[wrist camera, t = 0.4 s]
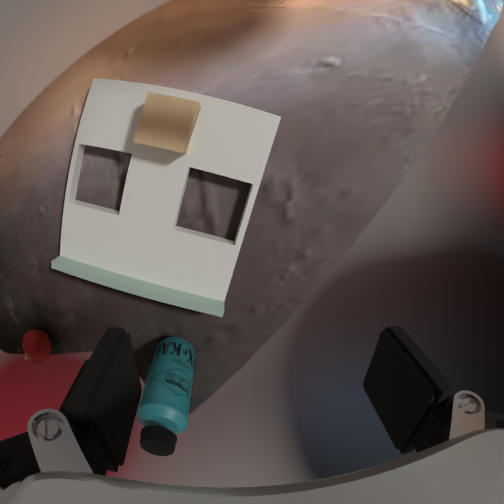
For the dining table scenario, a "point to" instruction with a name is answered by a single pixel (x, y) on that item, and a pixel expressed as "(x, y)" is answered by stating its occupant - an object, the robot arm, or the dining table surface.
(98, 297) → the dining table surface
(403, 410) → the robot arm
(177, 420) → the beverage bottle
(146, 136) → the block
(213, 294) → the board
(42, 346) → the onion
